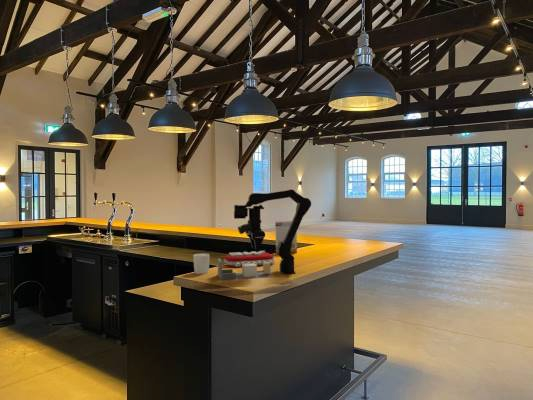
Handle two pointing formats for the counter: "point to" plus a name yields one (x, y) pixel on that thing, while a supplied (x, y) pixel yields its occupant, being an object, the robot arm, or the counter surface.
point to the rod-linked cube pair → (255, 269)
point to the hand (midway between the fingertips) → (255, 249)
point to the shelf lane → (236, 274)
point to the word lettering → (248, 258)
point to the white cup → (201, 263)
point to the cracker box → (284, 234)
